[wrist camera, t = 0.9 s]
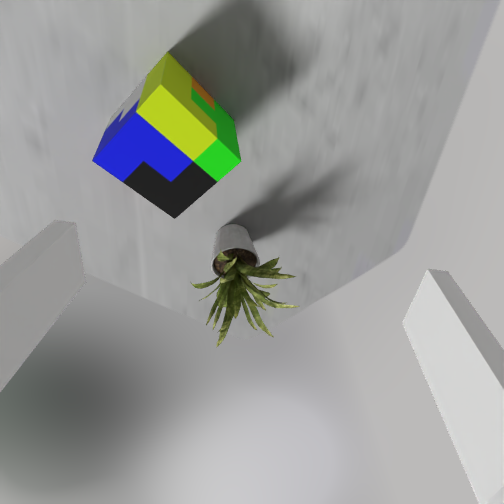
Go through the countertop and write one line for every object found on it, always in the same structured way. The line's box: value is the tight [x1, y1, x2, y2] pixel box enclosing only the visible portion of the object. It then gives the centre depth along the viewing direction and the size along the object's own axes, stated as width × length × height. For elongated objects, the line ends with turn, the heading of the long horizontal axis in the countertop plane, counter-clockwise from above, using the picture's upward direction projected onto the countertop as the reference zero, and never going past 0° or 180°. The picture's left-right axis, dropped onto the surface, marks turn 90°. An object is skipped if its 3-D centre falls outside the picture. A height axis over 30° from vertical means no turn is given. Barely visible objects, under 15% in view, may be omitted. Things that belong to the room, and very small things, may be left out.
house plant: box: [190, 224, 300, 346], centre depth 50 cm, size 14×14×16 cm
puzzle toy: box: [92, 52, 241, 219], centre depth 37 cm, size 10×10×10 cm
